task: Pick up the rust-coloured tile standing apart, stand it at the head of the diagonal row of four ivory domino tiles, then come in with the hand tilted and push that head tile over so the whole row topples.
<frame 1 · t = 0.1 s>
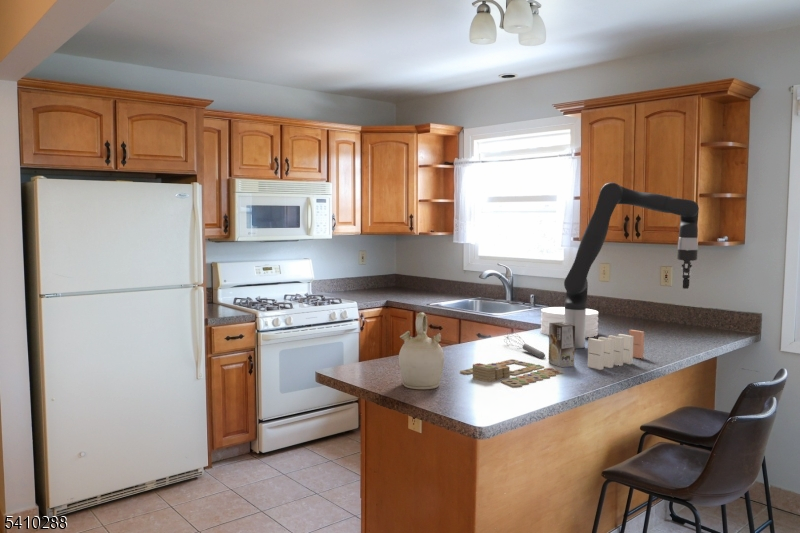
hand: (685, 287, 265), 29 cm above the worktop, tool pointing down, fingers open, 8 cm apart
ivory tile 2: (615, 364, 252), on the worktop
ivory tile 1: (624, 362, 255), on the worktop
rust tile: (635, 357, 266), on the worktop
ivory tile 3: (605, 366, 249), on the worktop
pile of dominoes: (512, 375, 236), on the worktop
ivory tile 4: (595, 367, 245), on the worktop
jug: (421, 386, 216), on the worktop
kitchen whisk: (525, 352, 276), on the worktop
coffee box: (561, 364, 251), on the worktop
plate stack: (568, 333, 323), on the worktop
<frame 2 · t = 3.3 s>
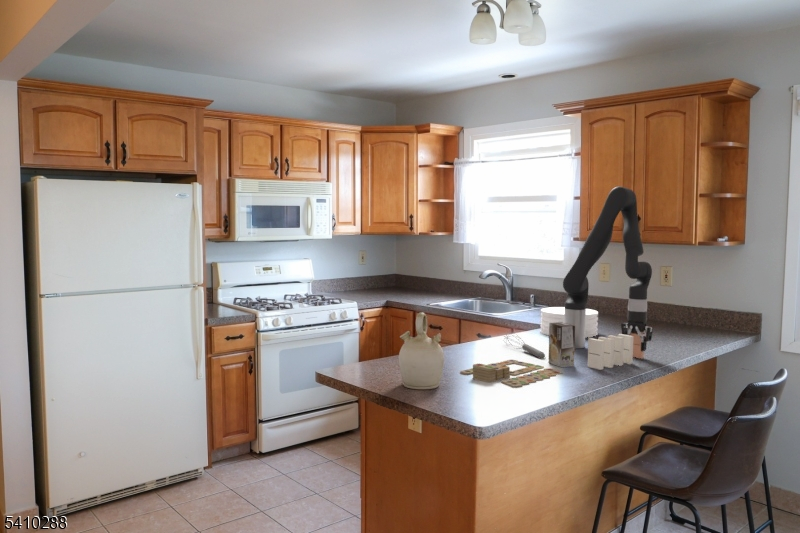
hand: (636, 349, 266), 3 cm above the worktop, tool pointing down, fingers closed on rust tile, 6 cm apart
rust tile: (635, 357, 266), on the worktop, touching gripper
everything else where it was.
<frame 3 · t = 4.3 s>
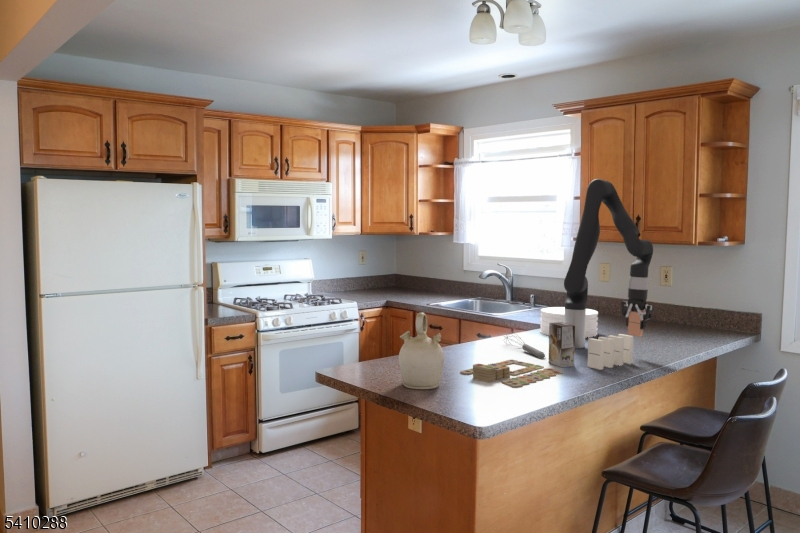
hand: (635, 327, 265), 12 cm above the worktop, tool pointing down, fingers closed on rust tile, 6 cm apart
rust tile: (634, 335, 265), point 9 cm above the worktop, touching gripper
everything else where it was.
when the fingers open (4 cm above the worktop, at t = 8.4 s): rust tile stays where it is, on the worktop.
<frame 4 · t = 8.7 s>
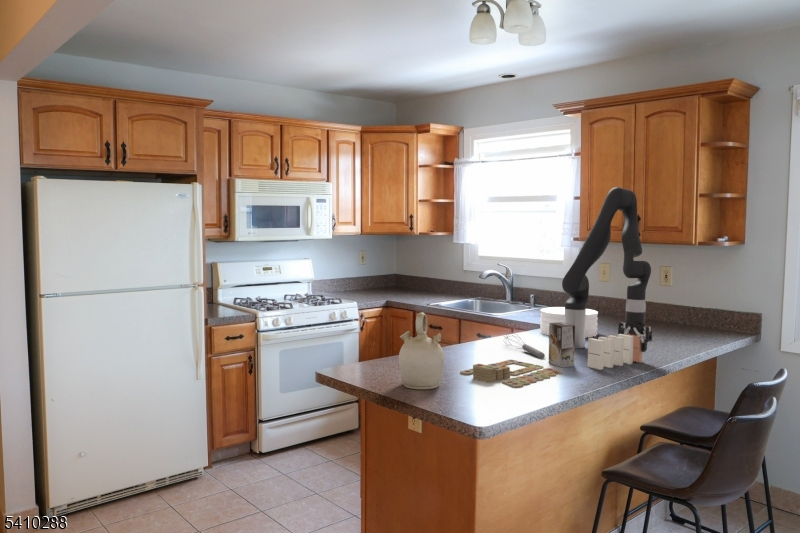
hand: (634, 349, 259), 4 cm above the worktop, tool pointing down, fingers open, 8 cm apart
rust tile: (633, 360, 259), on the worktop
everything else where it was.
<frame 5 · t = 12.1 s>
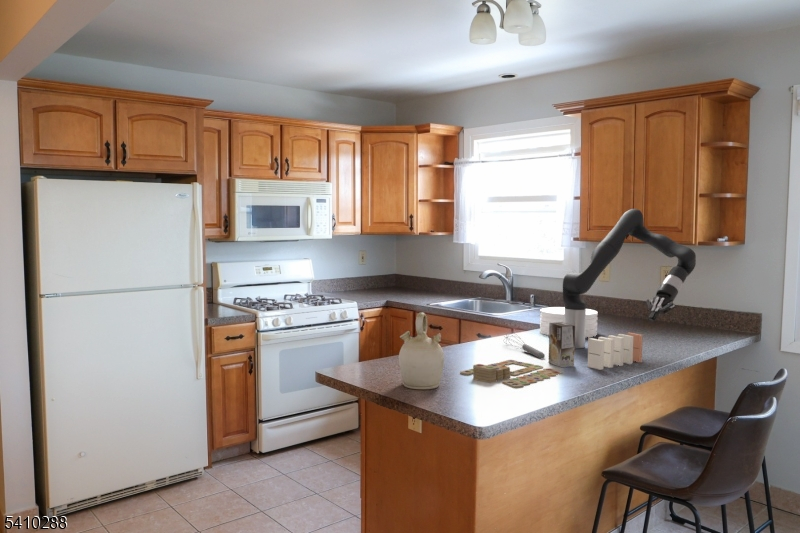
hand: (651, 319, 264), 16 cm above the worktop, tool tilted 45°, fingers closed
nothing on the worktop moved.
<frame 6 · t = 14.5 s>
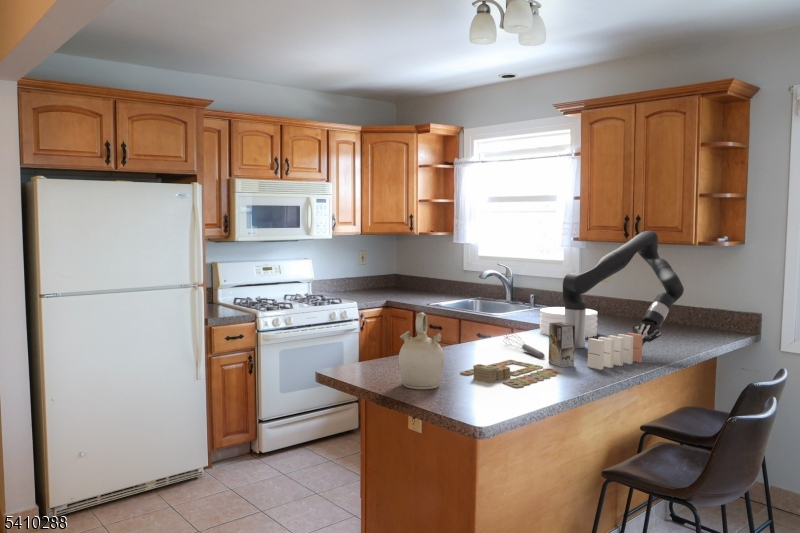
hand: (636, 347, 259), 5 cm above the worktop, tool tilted 45°, fingers closed
rust tile: (633, 360, 259), on the worktop, touching gripper
everything else where it was.
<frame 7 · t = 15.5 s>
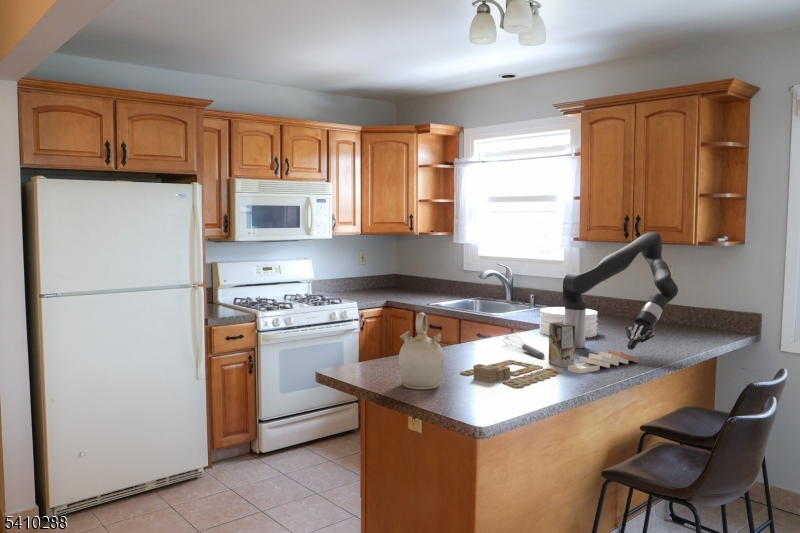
hand: (629, 348, 257), 5 cm above the worktop, tool tilted 45°, fingers closed
ivory tile 2: (612, 362, 251), point 1 cm above the worktop, tilted 72°, touching ivory tile 3
ivory tile 1: (621, 360, 255), point 1 cm above the worktop, tilted 72°, touching rust tile
rust tile: (631, 359, 258), point 1 cm above the worktop, tilted 72°, touching ivory tile 1
ivory tile 3: (603, 364, 248), point 1 cm above the worktop, tilted 74°, touching ivory tile 2, ivory tile 4
ivory tile 4: (593, 366, 244), point 1 cm above the worktop, tilted 90°, touching ivory tile 3
everything else where it was.
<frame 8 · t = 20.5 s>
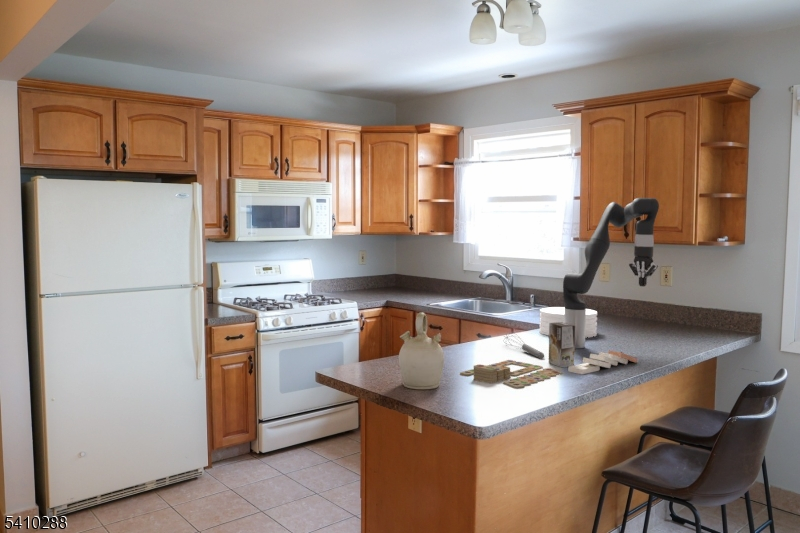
hand: (642, 286, 271), 29 cm above the worktop, tool pointing down, fingers closed
ivory tile 2: (610, 362, 251), point 1 cm above the worktop, tilted 71°, touching ivory tile 1, ivory tile 3
ivory tile 1: (620, 360, 254), point 1 cm above the worktop, tilted 71°, touching ivory tile 2, rust tile
ivory tile 3: (603, 364, 247), point 1 cm above the worktop, tilted 75°, touching ivory tile 2
ivory tile 4: (592, 366, 244), point 1 cm above the worktop, tilted 90°
at the end: ivory tile 4 tilted 90°; rust tile tilted 71°; rust tile inside the target area (1.0 cm from its centre), point 0.8 cm above the worktop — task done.
